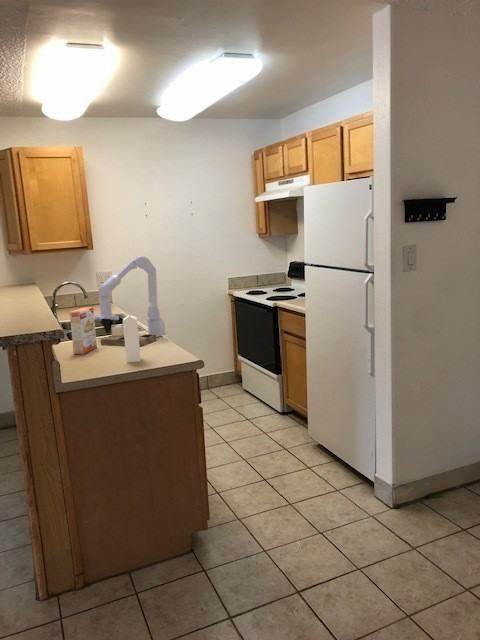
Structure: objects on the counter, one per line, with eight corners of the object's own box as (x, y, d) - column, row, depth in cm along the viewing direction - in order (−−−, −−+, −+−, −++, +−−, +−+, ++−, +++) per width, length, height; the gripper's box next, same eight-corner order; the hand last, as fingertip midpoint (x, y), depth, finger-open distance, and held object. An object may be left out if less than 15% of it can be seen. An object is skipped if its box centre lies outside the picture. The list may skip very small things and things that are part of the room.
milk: (140, 358, 241) (136, 310, 238) (140, 361, 236) (136, 312, 232) (127, 359, 241) (122, 311, 237) (126, 362, 235) (122, 313, 231)
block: (117, 333, 286) (116, 325, 285) (124, 334, 284) (123, 325, 283) (112, 335, 282) (111, 327, 281) (119, 335, 280) (118, 327, 279)
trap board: (118, 338, 288) (118, 333, 288) (156, 340, 278) (155, 334, 278) (101, 344, 275) (100, 339, 274) (140, 346, 265) (139, 340, 264)
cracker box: (84, 354, 255) (80, 311, 251) (73, 354, 256) (68, 311, 253) (98, 347, 269) (93, 306, 265) (87, 347, 270) (82, 307, 266)
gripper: (89, 309, 282) (92, 334, 285) (112, 309, 276) (114, 334, 279) (98, 306, 288) (100, 331, 291) (120, 307, 283) (122, 332, 285)
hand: (108, 332), depth 285 cm, fingers closed
